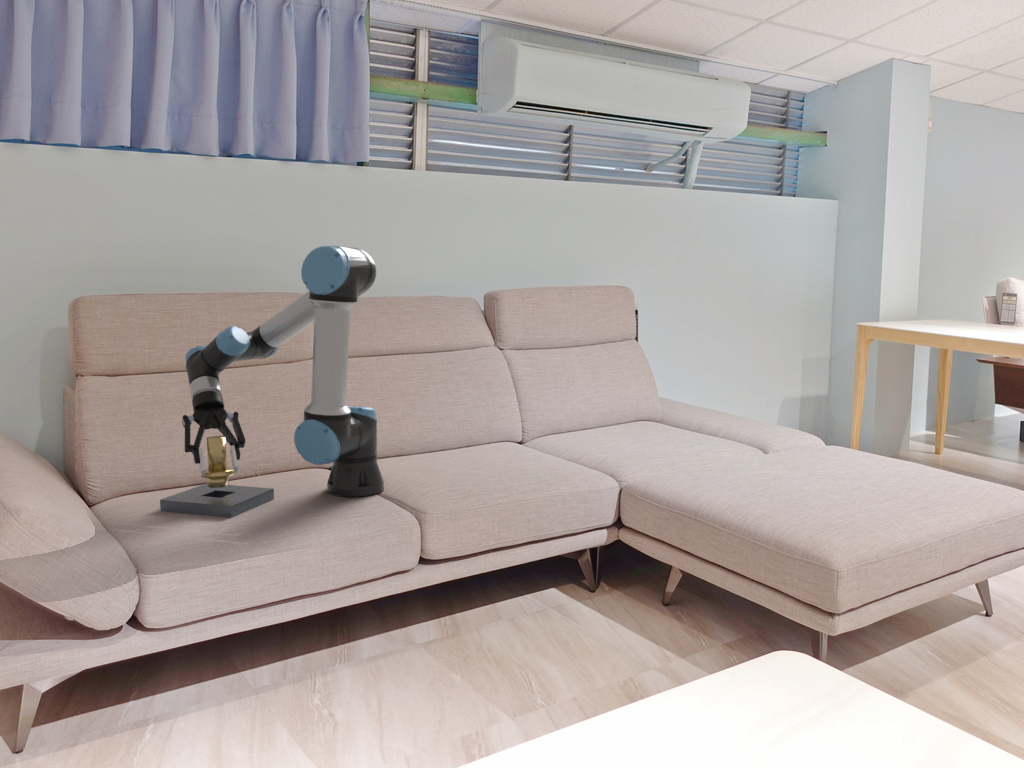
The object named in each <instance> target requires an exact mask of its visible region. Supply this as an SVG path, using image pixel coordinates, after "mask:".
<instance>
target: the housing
mask: <svg viewBox="0 0 1024 768" xmlns="http://www.w3.org/2000/svg"><path fill="white" fill-rule="evenodd" d="M274 489H275V488H273V487H272V488H271V487H260V486H259V487H258V486H247V485H246V486H245V485H235V484H228V486H226V487H221V488H210V487H208V482H207V483H204V484H202V485H201V484H200V485H198V486H194V487H192V488H190V489H187V490H183V491H181V492H179V493H178V492H177V493H175V494H172V495H170V496H166V497H163V498H161V499H159V509H160V510H159V511H160V512H162V513H163V512H164V513H165V512H166V513H174V514H185V515H186V514H187V515H197V516H206V517H208V516H209V517H219V518H228V519H232V518H234V517H237V516H239V515H241V514H243V513H246V512H248V511H251V510H253V509H255V508H258V507H259V506H260V507H261V506H262V505H264V504H266V503H269V502H272V501H274V500H275V491H274Z"/></svg>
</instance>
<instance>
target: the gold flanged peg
mask: <svg viewBox="0 0 1024 768" xmlns="http://www.w3.org/2000/svg"><path fill="white" fill-rule="evenodd" d="M206 444H207V445H206V446H207V447H206V449H207V450H206V451H207V468H205V476H201V475H200V477H201V478H204V479H205V478H206V479H207V483H208V487H210V488H221V487H226V486H228V485H229V477H232V476H234V475H235V474H236V473H234V470H233V467H231V466H229V467H228V464H227V463H228V462H227V461H228V460H227V440H226V437H225V436H223V435H211V436H208V437H206Z"/></svg>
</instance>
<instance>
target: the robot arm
mask: <svg viewBox="0 0 1024 768" xmlns="http://www.w3.org/2000/svg"><path fill="white" fill-rule="evenodd" d="M301 265H302V266H301V270H300V271H301V272H300V273H301V275H300V276H301V280H302V282H303V284H304V285H305V288H306V289H308V291H307V292H305V293H304V294H302V295H301V296H299V297H297V299H295V300H294V301H292V302H290V303H289V305H287V306H286V307H284V308H283V309H280V310H279V311H278V312H277V313H275V314H274V315H273V316H272V317H270V318H269V319H267V320H266V321H264V322H263V323H262V324H261V325H259V326H257V327H256V328H255V329H253V330H251V331H248V332H246V331H245V330H244V329H243V328H241V327H237V326H236V325H229V326H227V327H226V328H225V329H224V330H221V332H219V333H218V334H217V335H216V337H214V339H213V340H211V342H209V343H208V344H207V345H197V346H195V347H194V348H193V347H192V348H190V349H188V351H187V352H186V355H185V370H186V373H187V378H188V385H189V389H190V390H189V391H190V396H191V397H190V398H191V403H192V409H193V414H192V415H187V414H183V415H182V420H181V423H182V427H183V428H184V452H185V453H192V456H193V460H194V461H193V462H194V463H195V464H196V465H197V464H199V469H200V470H199V471H200V477H201V476H205V469H206V466H205V465H206V464H205V460H204V459H205V458H204V453H203V448H202V447H200V446H201V443H202V441H203V438H204V437H203V436H204V433H205V431H206V430H211V429H215V430H218V431H219V433H221V434H222V436H225V437H226V443H228V444H229V446H230V450H229V453H230V458H231V463H232V468H233V470H234V473H235V474H237V473H238V472H239V462H238V460H239V461H240V459H241V450H240V449H243V448H245V446H246V437H245V435H244V432H243V430H242V426H241V424H240V421H239V412H238V411H234V412H233V413H231V412H228V411H227V410H226V407H225V403H224V399H223V398H224V397H223V393H222V389H221V383H220V382H221V381H220V379H219V374H221V373H222V372H223V371H224V370H226V369H227V368H228V367H229V366H230V365H232V363H234V362H240V361H249V360H259V359H261V360H262V359H267V358H270V357H272V356H274V355H275V354H276V353H277V352H278V350H279V346H282V345H283V344H284V343H286V342H287V341H289V340H290V339H292V338H293V337H295V336H296V335H297V334H299V333H300V332H302V331H304V330H305V329H306V328H308V327H309V326H311V325H312V324H314V325H313V326H314V327H313V346H312V347H313V348H312V368H311V370H312V372H311V390H310V391H311V392H310V393H311V395H310V402H309V404H308V405H307V406H305V407H304V410H303V421H302V422H301V423H300V424H299V425H298V426H297V427H296V428H295V430H294V434H293V443H294V446H295V449H296V451H297V453H298V454H299V455H300V456H301V458H302V459H303V460H304V461H305V462H308V463H309V464H312V465H316V466H321V465H326V464H327V465H328V464H332V466H331V470H330V472H329V477H328V479H327V481H326V491H327V493H328V494H329V493H330V494H329V495H331V494H333V495H332V496H335V495H337V497H343V496H344V498H345V497H348V498H349V497H350V498H353V497H354V498H355V497H357V498H358V497H366V496H372V495H375V494H376V495H377V494H379V493H382V492H383V491H384V489H385V485H384V484H385V480H384V477H383V476H382V473H381V470H380V467H379V463H378V455H377V453H378V447H377V446H378V444H377V443H378V442H377V441H378V437H377V435H378V434H377V433H378V431H377V430H378V427H377V424H378V419H377V412H376V411H377V410H376V409H374V407H371V406H358V405H357V406H354V405H353V406H352V405H347V403H346V402H347V401H346V400H347V386H348V385H347V384H348V382H347V380H348V367H349V366H348V363H349V346H350V345H349V344H350V343H349V342H350V326H351V325H350V323H351V311H352V308H353V307H355V306H356V305H357V304H358V298H359V297H360V296H361V295H363V294H364V293H366V292H367V291H369V290H370V288H371V287H372V286H373V285H374V283H375V280H376V278H377V266H376V263H375V261H374V259H373V258H372V256H371V255H370V254H369V253H367V252H366V251H364V250H363V249H361V248H359V247H358V248H356V247H345V246H338V245H334V244H333V245H322V246H318V247H316V248H314V249H312V250H311V251H310V252H309V253H308V254H307V255H306V256H305V258H304V259H303V261H302V264H301ZM227 419H229V422H230V423H231V425H232V428H233V432H234V433H235V436H236V437H235V436H234V434H233V432H232V431H231V429H230V428H229V427H228V426H227V423H226V420H227ZM193 421H194V422H195V423H196V424H197V425H198V426H199V427H198V430H197V433H196V437H195V440H194V444H191V425H193Z"/></svg>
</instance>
